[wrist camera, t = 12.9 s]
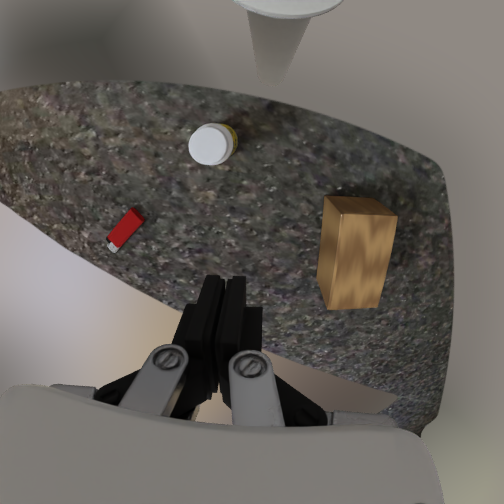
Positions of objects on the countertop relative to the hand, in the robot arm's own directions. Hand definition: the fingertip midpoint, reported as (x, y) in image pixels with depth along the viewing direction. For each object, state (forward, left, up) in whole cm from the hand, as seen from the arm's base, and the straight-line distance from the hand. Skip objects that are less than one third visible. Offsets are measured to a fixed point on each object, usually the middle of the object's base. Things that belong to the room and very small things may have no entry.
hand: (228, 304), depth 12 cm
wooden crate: (+8, +10, -23) cm, 26 cm away
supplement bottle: (-5, -4, -27) cm, 28 cm away
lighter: (+8, -20, -27) cm, 34 cm away
